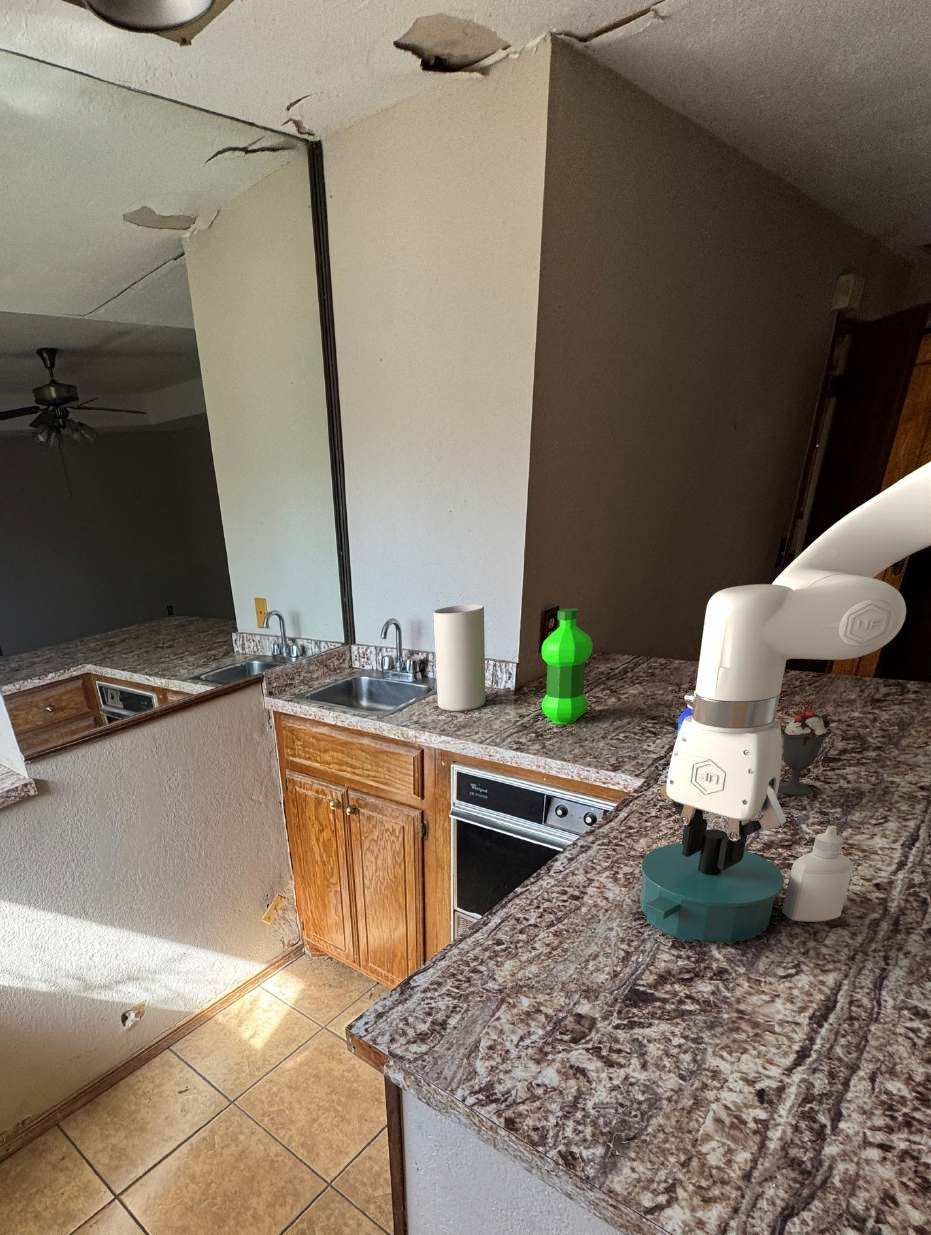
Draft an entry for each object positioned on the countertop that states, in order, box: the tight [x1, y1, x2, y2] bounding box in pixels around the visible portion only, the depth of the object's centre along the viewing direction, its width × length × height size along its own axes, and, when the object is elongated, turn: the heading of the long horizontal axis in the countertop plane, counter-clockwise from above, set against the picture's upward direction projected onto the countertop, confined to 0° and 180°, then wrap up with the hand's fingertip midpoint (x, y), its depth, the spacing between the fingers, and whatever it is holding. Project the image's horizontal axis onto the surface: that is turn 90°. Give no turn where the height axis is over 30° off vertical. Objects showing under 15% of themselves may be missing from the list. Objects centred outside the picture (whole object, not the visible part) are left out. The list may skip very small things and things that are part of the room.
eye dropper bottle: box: [781, 825, 854, 923], centre depth 74 cm, size 4×6×12 cm
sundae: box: [778, 701, 833, 796], centre depth 103 cm, size 7×7×15 cm
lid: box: [640, 828, 785, 907], centre depth 77 cm, size 15×15×6 cm
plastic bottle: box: [541, 607, 594, 725], centre depth 146 cm, size 10×10×25 cm
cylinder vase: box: [433, 603, 486, 712], centre depth 169 cm, size 12×12×25 cm
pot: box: [639, 856, 775, 945], centre depth 79 cm, size 14×19×6 cm
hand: (710, 857), depth 77 cm, fingers open, 3 cm apart
